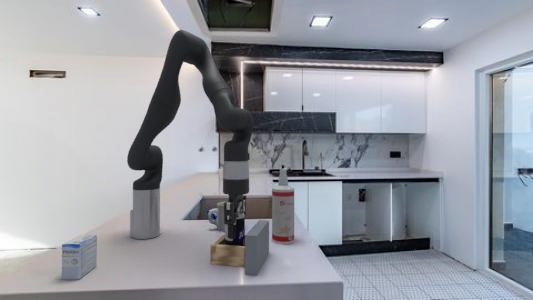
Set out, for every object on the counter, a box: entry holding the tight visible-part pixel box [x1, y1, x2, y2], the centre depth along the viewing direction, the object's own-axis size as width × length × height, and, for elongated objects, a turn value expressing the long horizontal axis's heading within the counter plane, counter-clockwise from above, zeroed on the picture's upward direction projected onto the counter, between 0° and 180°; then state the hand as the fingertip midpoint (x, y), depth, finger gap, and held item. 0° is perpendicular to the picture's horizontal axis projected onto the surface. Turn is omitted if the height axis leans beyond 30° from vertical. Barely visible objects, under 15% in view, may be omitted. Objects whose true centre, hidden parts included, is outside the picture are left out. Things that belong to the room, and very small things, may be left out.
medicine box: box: [61, 234, 98, 281], centre depth 73 cm, size 8×4×9 cm, turn 5°
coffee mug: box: [207, 201, 225, 233], centre depth 114 cm, size 13×10×10 cm
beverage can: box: [224, 212, 246, 246], centre depth 82 cm, size 6×6×12 cm
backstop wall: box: [244, 219, 270, 277], centre depth 79 cm, size 3×16×10 cm, turn 168°
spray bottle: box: [271, 168, 295, 246], centre depth 99 cm, size 8×8×25 cm
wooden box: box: [209, 233, 245, 268], centre depth 82 cm, size 11×11×5 cm
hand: (235, 234), depth 82 cm, fingers open, 6 cm apart
